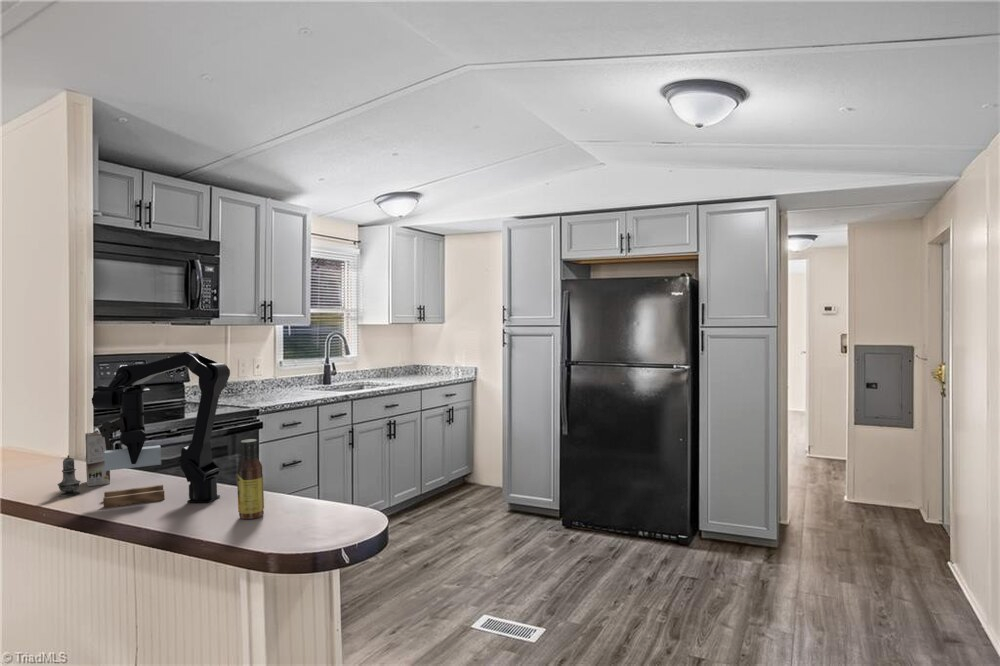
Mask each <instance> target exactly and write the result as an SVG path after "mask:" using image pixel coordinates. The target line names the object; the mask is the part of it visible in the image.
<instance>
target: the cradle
mask: <svg viewBox="0 0 1000 666" xmlns="http://www.w3.org/2000/svg"><path fill="white" fill-rule="evenodd" d="M102 499H103V501H102V503H103V508H104V509H105V508H111V507H119V506H118V505H120V506H126V505H125V504H128V505H133V504H132V503H135V504H142V503H149V502H156V501H164V500H165V489H164V484H159V485H149V486H141V487H134V488H126V489H117V490H109V491H108V490H107V491H104V493H103V498H102ZM141 502H142V503H141Z"/></svg>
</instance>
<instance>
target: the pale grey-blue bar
mask: <svg viewBox="0 0 1000 666" xmlns="http://www.w3.org/2000/svg"><path fill="white" fill-rule="evenodd" d="M161 450H162V447H161V445H149V446H143V447H142V450H141V452H140V455H139V457H138V460H137V462H136V464H131V460H130V456H129V452H128V448H120V449H110V450H108V451H105V452H104V457H105V471H107V470H110V471H113V470H124V469H125V470H126V469H131V468H132V469H133V468H141V467H142V468H143V467H151V466H152V467H153V466H157V465H159V466H161V465H162V451H161Z"/></svg>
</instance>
